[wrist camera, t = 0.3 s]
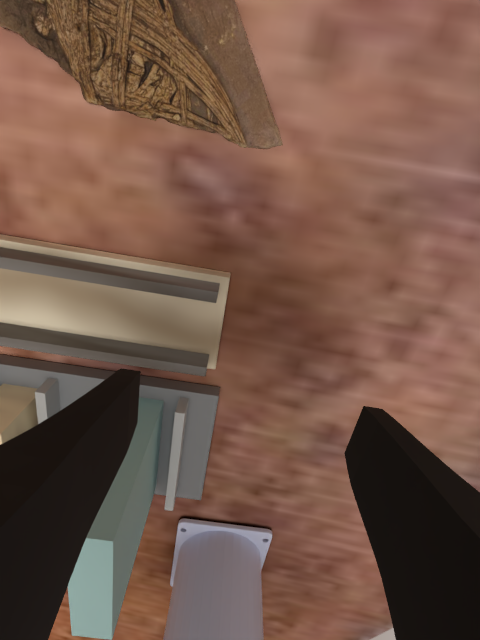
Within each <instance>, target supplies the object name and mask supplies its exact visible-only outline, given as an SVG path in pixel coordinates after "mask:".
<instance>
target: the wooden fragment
mask: <svg viewBox="0 0 480 640" xmlns="http://www.w3.org/2000/svg"><path fill="white" fill-rule="evenodd" d="M0 26H1V27H3V28H8V29H10V30H12V31H14V32H16V33H19V34H20V35H21V36H22V37H23V38H24V39H25V40H26V41H27V42H28V43H29V44H30V45H32V46H34V47H36V48H38V49H40V50H41V51H42V52H43V53H44V54H45V55H46V56H48V57H52V58H53V59H54V60H56V61H57V62H58V63H59V65H60V67H61V68H62V69H63V70H65V71H66V72H67V73H69V74H70V75H71V76H73V77H74V78H75V80H76V81H77V82H79V83H80V86H81V90H82V94H83V97H84V99H85V100H86V101H87V102H89V103H93V104H98V105H102V106H104V107H106V108H107V109H110V110H114V111H121V110H122V111H127V112H129V113H132V114H134V115H136V116H138V117H141V118H148V119H151V120H154V121H156V119H157V118H164V119H165V120H167V121H168V122H171V123H174V124H177V125H180V126H186V127H192V128H195V129H203V130H206V131H209V132H212V133H215V132H217V133H220V134H222V135H223V136H224V137H225V138H226V139H227V140H228V141H230V142H233V143H236V144H238V145H239V146H240V147H243V148H246V147H249V148H258V149H270V148H272V147H275V146H281V145H283V144H282V141H281V137H280V134H279V131H278V128H277V125H276V123H275V119H274V116H273V113H272V110H271V108H270V105H269V101H268V99H267V95H266V93H265V89H264V86H263V83H262V80H261V77H260V74H259V71H258V68H257V66H256V63H255V60H254V56H253V53H252V51H251V48H250V45H249V42H248V39H247V35H246V32H245V30H244V27H243V25H242V22H241V19H240V16H239V12H238V9H237V6H236V3H235V0H0Z"/></svg>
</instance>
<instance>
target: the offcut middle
mask: <svg viewBox="0 0 480 640" xmlns="http://www.w3.org/2000/svg"><path fill="white" fill-rule="evenodd" d="M36 390H37V388H30V387H23V386H16V385H9V384H2V385H1V386H0V445H1V444H3V443H5V442H7V441H8V440H10V439H12V438H14V437H16V436H18V435H20V434H22V433H24V432H25V431H27V430H29V429H31V428H33V427H34V426H36V425H38V417H37V408H36V399H35V391H36Z"/></svg>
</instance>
